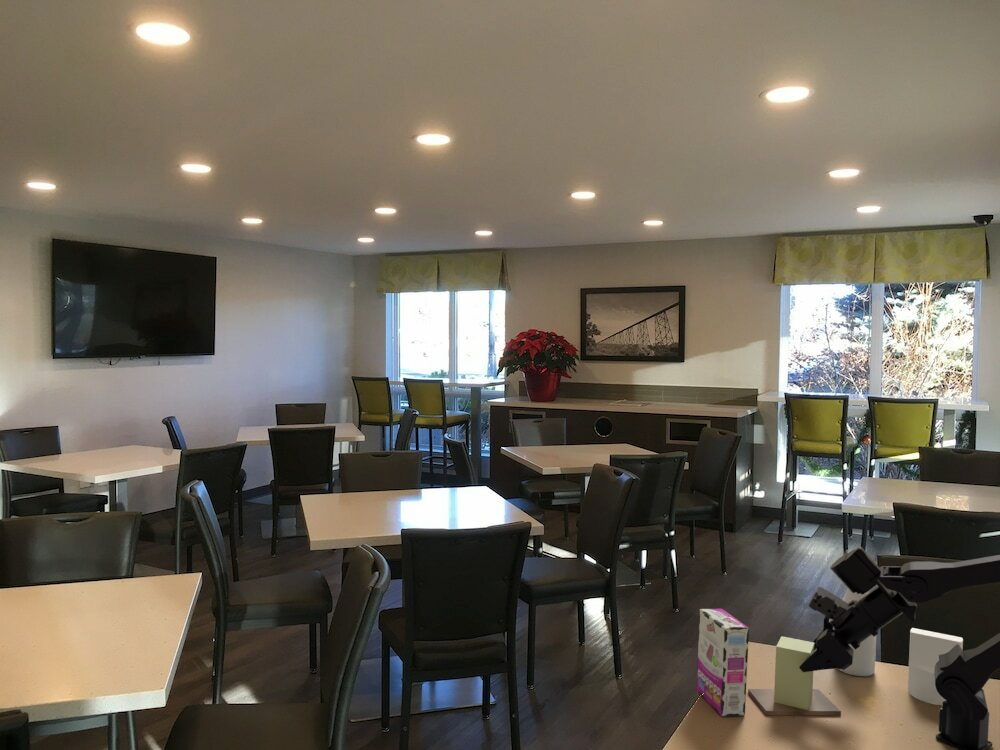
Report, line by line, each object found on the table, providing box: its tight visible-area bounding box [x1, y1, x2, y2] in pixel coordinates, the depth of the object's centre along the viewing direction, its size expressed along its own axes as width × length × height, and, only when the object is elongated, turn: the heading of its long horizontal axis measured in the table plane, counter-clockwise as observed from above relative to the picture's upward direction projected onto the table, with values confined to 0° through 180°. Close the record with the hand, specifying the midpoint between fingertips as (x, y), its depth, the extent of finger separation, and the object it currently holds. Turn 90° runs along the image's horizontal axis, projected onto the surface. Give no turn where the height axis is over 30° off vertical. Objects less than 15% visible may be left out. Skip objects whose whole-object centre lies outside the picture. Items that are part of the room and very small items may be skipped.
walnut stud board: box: [747, 688, 842, 716], centre depth 147 cm, size 14×9×4 cm, turn 93°
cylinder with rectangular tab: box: [907, 627, 964, 706], centre depth 152 cm, size 9×9×12 cm
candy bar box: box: [696, 608, 750, 718], centre depth 146 cm, size 11×5×16 cm, turn 10°
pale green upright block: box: [773, 636, 815, 710], centre depth 147 cm, size 6×6×11 cm
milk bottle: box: [836, 586, 877, 677], centre depth 163 cm, size 8×8×20 cm
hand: (804, 660), depth 146 cm, fingers open, 9 cm apart
